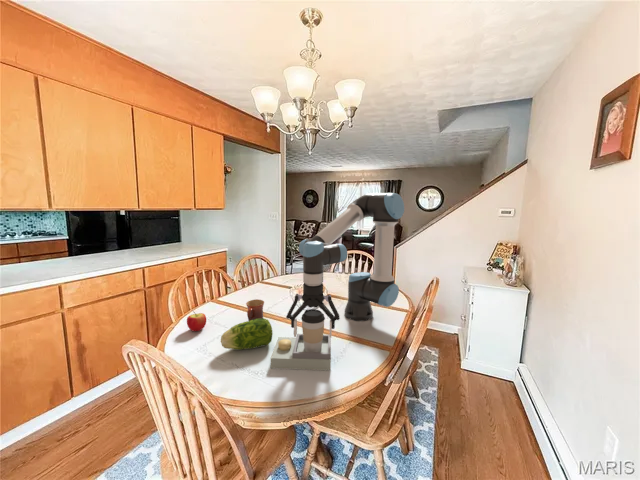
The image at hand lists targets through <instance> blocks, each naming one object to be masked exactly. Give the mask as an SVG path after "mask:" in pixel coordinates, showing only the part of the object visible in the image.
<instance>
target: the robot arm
mask: <svg viewBox="0 0 640 480" xmlns="http://www.w3.org/2000/svg"><path fill="white" fill-rule="evenodd" d="M404 213H405V202H404V200H403V198H402V196H401V195H400V194H398V193H395V192H369V193H365V194H364V195H363V194H362V195H361V196H359V197H358V198H356V199H355V200H353V201H352V202H351V203H350V204H348V205H347V207H346V209H345V210H344V211H343V212H342V213H341V214H339V215H338V216H337V217H336V218H334V219H333V220H332V221H331V222H330V223H329V224H327V225H326V226H325V227H324V228H323V229H321V230H320V231H319V232H318V233H317V234H315V235H314V236H312V237H311V238H310V239H307V238H306V239H303V240H301V241H300V243H299V244H298V251H299V254H300V255H301V256H302V267H303V268H302V269H303V271H302V274H303V275H302V280H303V282H302V283H303V284H302V293H303V294H299V293H296V294H295V296H294V300H293V302H292V305H291V306H290V309H288V312H287V315H286V317H285V318H286V319H288V320H290V325H291V328H292V329H293V338H296V337H297V334H298V320H297V319H298V318H297V317H298V316H299V315H300V314H301V313H302V312H303V311H304V309H306V308H307V307H308V308H318V307H319V308H320V310H322V311H323V312H324V314H325V315H326V316H327V317H328V319H329V335H330V336H329V338H331V339H332V335H333V334H332V332H333V331H332V330H334V329H335V325H336V321H339V320H340V319H341V318H340V314H339V311H338V310H337V308H336V306H335V304H334V301H333V300H332V294H328V295H324V266H328V265H329V266H330V265H334V264H340V263H342V262H344V261H345V260H347V257H348V249H347V248H346V246H345V245H344V244H343V243H334V242H335V241H336V240H338V239H339V238H340V237H341V236H342V235H343V234H344V233H346V231H347V230H349V229H350V228H351V227H352V226H353V225H354V224H355V223H357V222H361V221H362V220H363V219H365V218H370V217H371V218H372V222H373V224H375V235H374V236H375V237H374V239H375V240H374V256H373V257H374V259H373V273H372V274H371V272H367V271H366V272H365V271H361V272H354V273H351V274H349V275H348V280H347V281H348V283H347V284H348V285H347V289H348V290H347V291H348V292H347V293H348V294H347V302H346V305H345V308H344V316H345V317H346V318H347V319H349V320H352V321H355V322H357V321H358V322H365V321H369V320H371V319H372V318H373V316H374V312H373V307H372V304H371V302H372V303H374V304H377V305H379V306H383V307H385V308H387V307H388V308H389V307H391V306H392V305H394V304H395V302H396V301H397V299H398V296H399V294H400V293H399V292H400V289H399V286H398V284H396V283H395V277H394V276H393V275H392V272H393V271H392V270H393V256H394V241H395V240H394V238H395V226H396V225H397V224H398V223H399V219H401V218H402V217H403V216H404ZM300 300H302V301H303V302H302V304H301V305H300V306H299V307H298V308H297V309H296V311H294V310H295V308H296V306H297V304H298V302H300ZM324 301H326V302H327V303H328V305H329V307H330V309H329V308H328V307H327V306H326V305H325V303H324ZM330 310H331V311H332V312H331V311H330ZM293 312H294V313H293ZM292 313H293V314H292Z"/></svg>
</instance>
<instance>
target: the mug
mask: <svg viewBox="0 0 640 480" xmlns="http://www.w3.org/2000/svg"><path fill="white" fill-rule="evenodd" d="M264 305H265V301H264V300H263V299H256V298H255V299H252V300H251V299H250V300H248V301H246V303H245V306H246V308H247V311H246V312H247V313H246V315H247V319H248V320H247V321H251V320H254V319H260V318H264Z"/></svg>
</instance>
